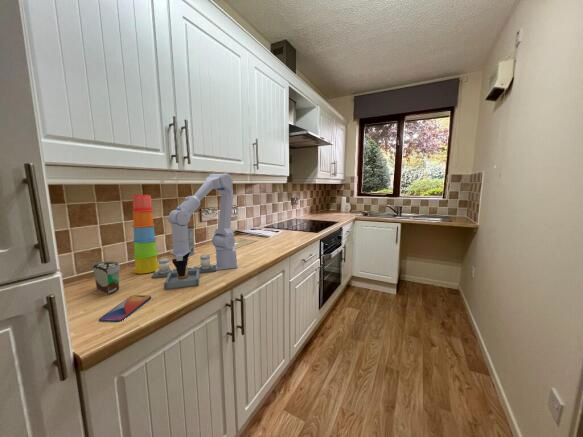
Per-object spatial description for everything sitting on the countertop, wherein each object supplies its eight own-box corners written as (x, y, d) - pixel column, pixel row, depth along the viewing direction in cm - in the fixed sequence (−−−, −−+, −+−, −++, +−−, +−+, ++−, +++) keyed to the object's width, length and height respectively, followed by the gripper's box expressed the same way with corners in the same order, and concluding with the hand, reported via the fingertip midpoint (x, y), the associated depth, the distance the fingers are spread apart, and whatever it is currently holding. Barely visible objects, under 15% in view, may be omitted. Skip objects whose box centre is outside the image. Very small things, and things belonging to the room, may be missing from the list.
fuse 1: (170, 270, 109) (169, 257, 108) (169, 273, 105) (168, 260, 105) (160, 271, 108) (159, 258, 107) (158, 274, 104) (157, 261, 103)
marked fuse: (188, 278, 102) (187, 264, 101) (188, 281, 98) (187, 267, 97) (178, 279, 100) (177, 265, 99) (177, 283, 97) (176, 268, 96)
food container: (129, 289, 92) (126, 264, 90) (110, 296, 87) (107, 269, 85) (113, 282, 98) (110, 258, 96) (95, 288, 93) (91, 263, 91)
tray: (199, 274, 107) (199, 269, 106) (198, 285, 95) (198, 279, 95) (169, 277, 103) (168, 272, 103) (164, 289, 92) (164, 283, 91)
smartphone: (97, 323, 71) (96, 320, 71) (132, 297, 86) (131, 295, 86) (121, 324, 71) (121, 320, 71) (152, 298, 86) (152, 295, 85)
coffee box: (173, 256, 133) (171, 227, 131) (181, 252, 139) (179, 225, 137) (187, 257, 130) (185, 228, 128) (195, 254, 137) (193, 225, 134)
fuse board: (215, 266, 117) (215, 262, 117) (216, 271, 110) (215, 267, 110) (155, 272, 109) (154, 268, 108) (151, 278, 102) (151, 274, 102)
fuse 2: (210, 266, 115) (209, 254, 114) (210, 269, 111) (209, 256, 110) (201, 267, 113) (200, 255, 112) (200, 270, 110) (200, 257, 109)
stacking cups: (128, 272, 109) (120, 195, 104) (150, 265, 118) (144, 194, 113) (143, 276, 105) (135, 195, 100) (164, 268, 114) (158, 194, 109)
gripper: (172, 236, 102) (174, 267, 104) (166, 245, 88) (169, 280, 91) (190, 235, 104) (192, 265, 106) (187, 243, 91) (189, 278, 93)
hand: (182, 272), depth 99 cm, fingers open, 7 cm apart
